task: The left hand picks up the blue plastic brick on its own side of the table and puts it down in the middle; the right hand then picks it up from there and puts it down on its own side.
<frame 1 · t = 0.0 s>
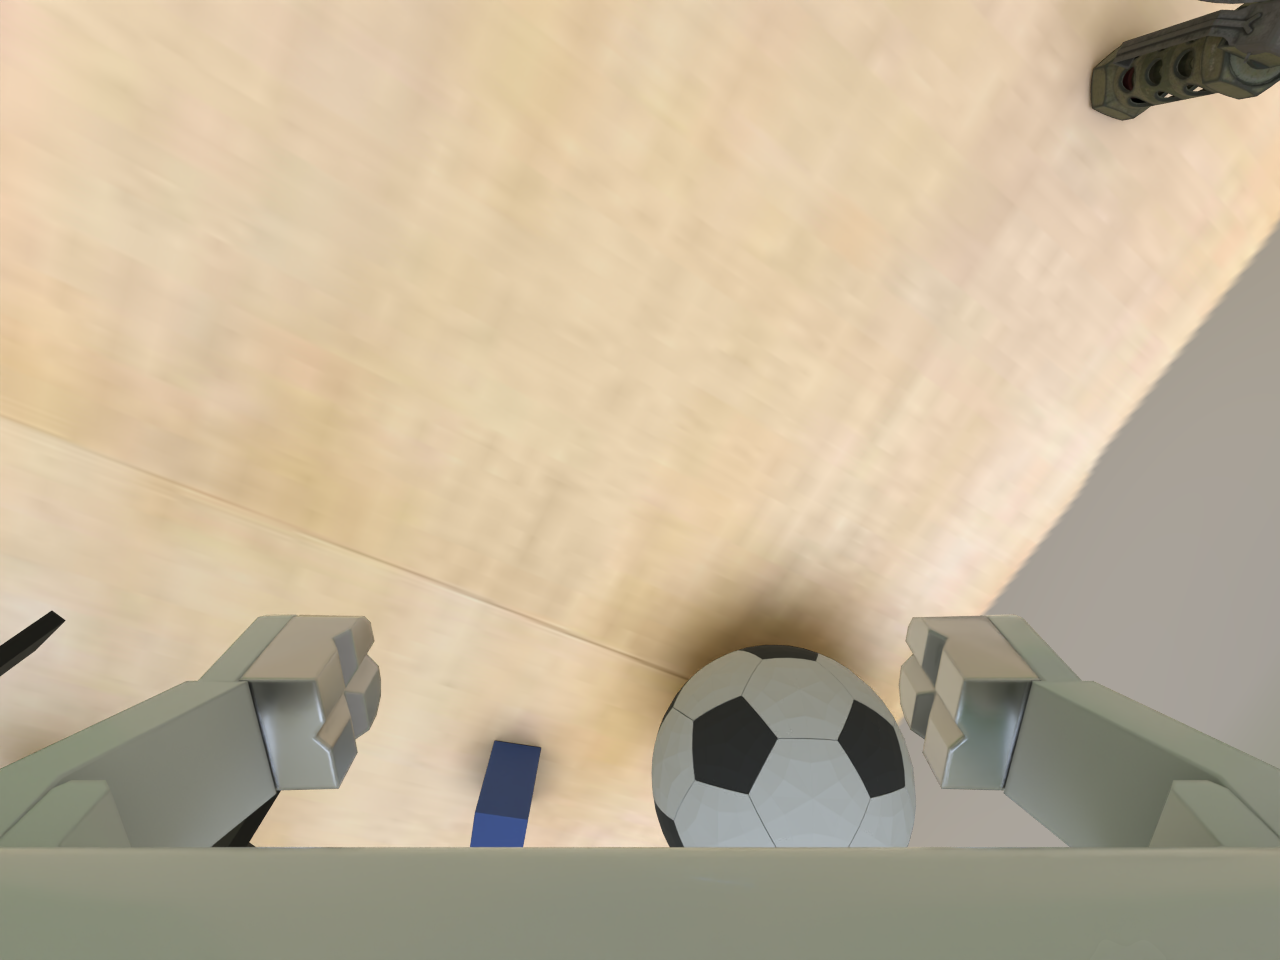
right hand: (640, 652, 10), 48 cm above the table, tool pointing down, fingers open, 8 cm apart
grenade: (1113, 66, 49), on the table
brick: (513, 771, 73), on the table
soccer ball: (758, 690, 70), on the table
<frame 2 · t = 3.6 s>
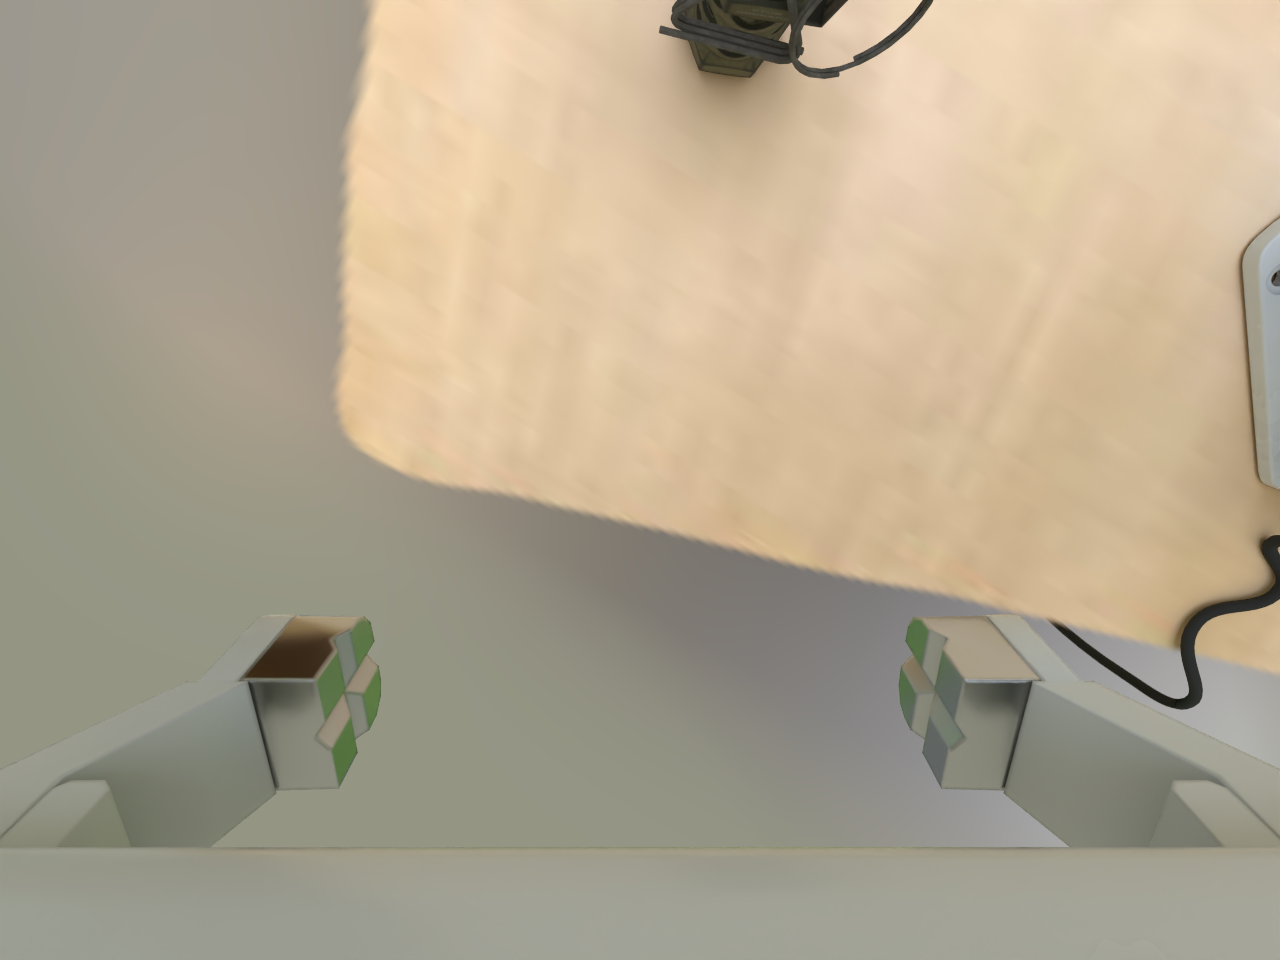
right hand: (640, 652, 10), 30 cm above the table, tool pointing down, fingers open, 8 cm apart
grenade: (749, 44, 33), on the table
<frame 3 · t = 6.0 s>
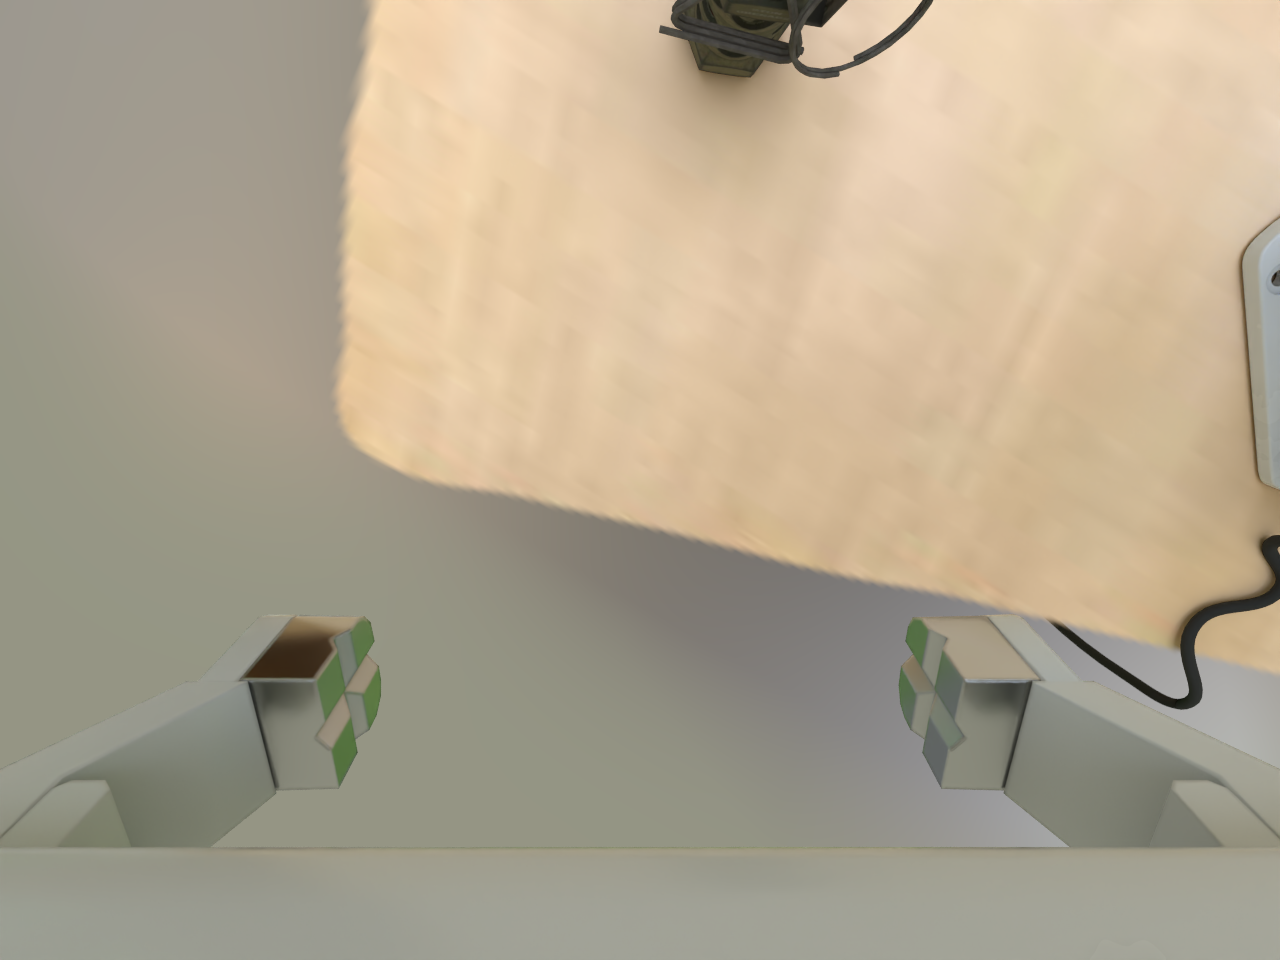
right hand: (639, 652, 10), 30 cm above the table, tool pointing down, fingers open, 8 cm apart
grenade: (749, 44, 33), on the table
when the left hand's fingers open (4 cm above the table, at t = 8.7 s): brick drops 2 cm, on the table.
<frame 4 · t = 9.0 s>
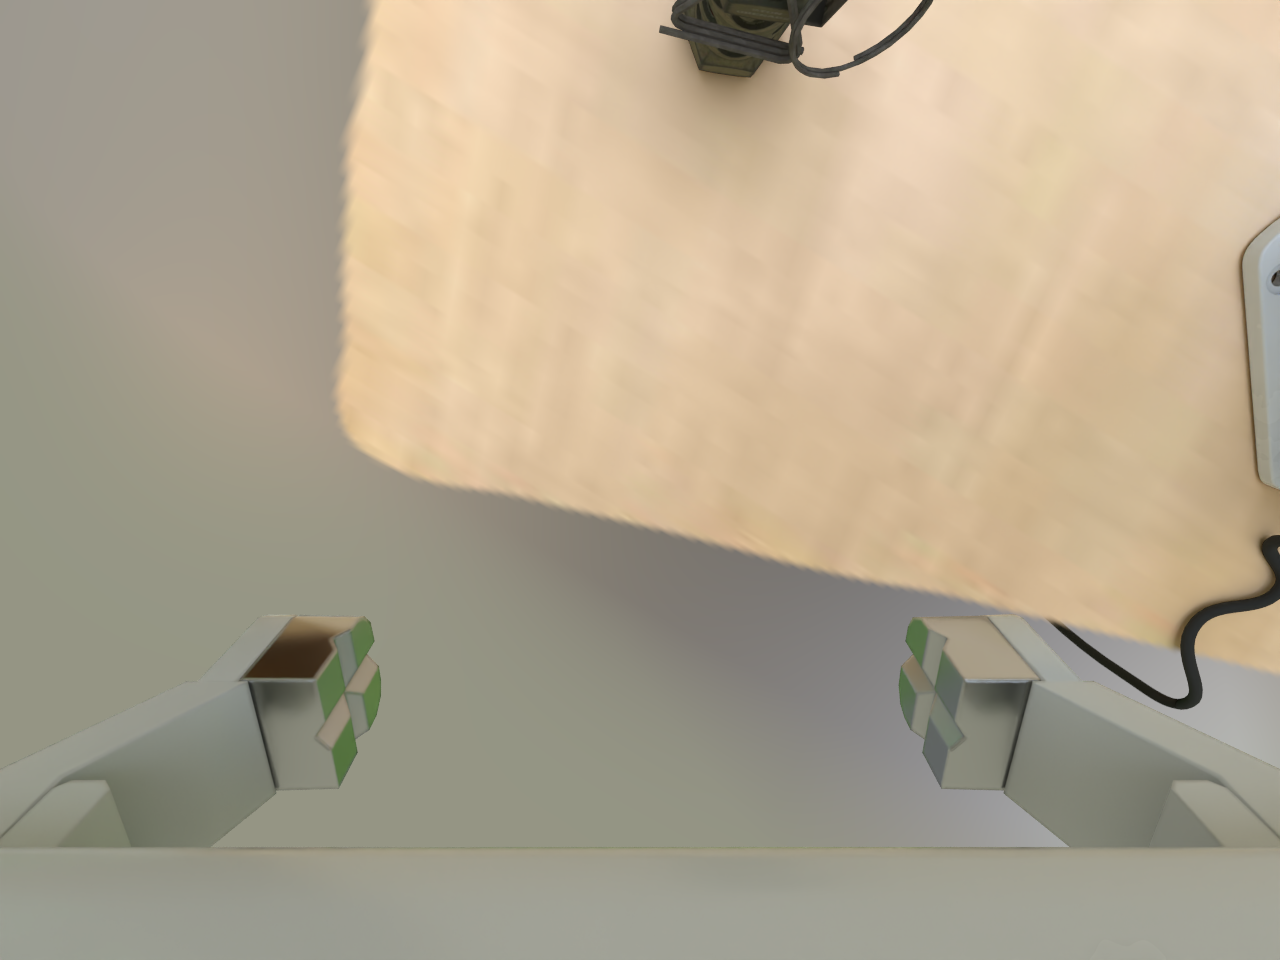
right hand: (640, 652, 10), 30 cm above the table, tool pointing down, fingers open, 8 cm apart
grenade: (750, 44, 33), on the table
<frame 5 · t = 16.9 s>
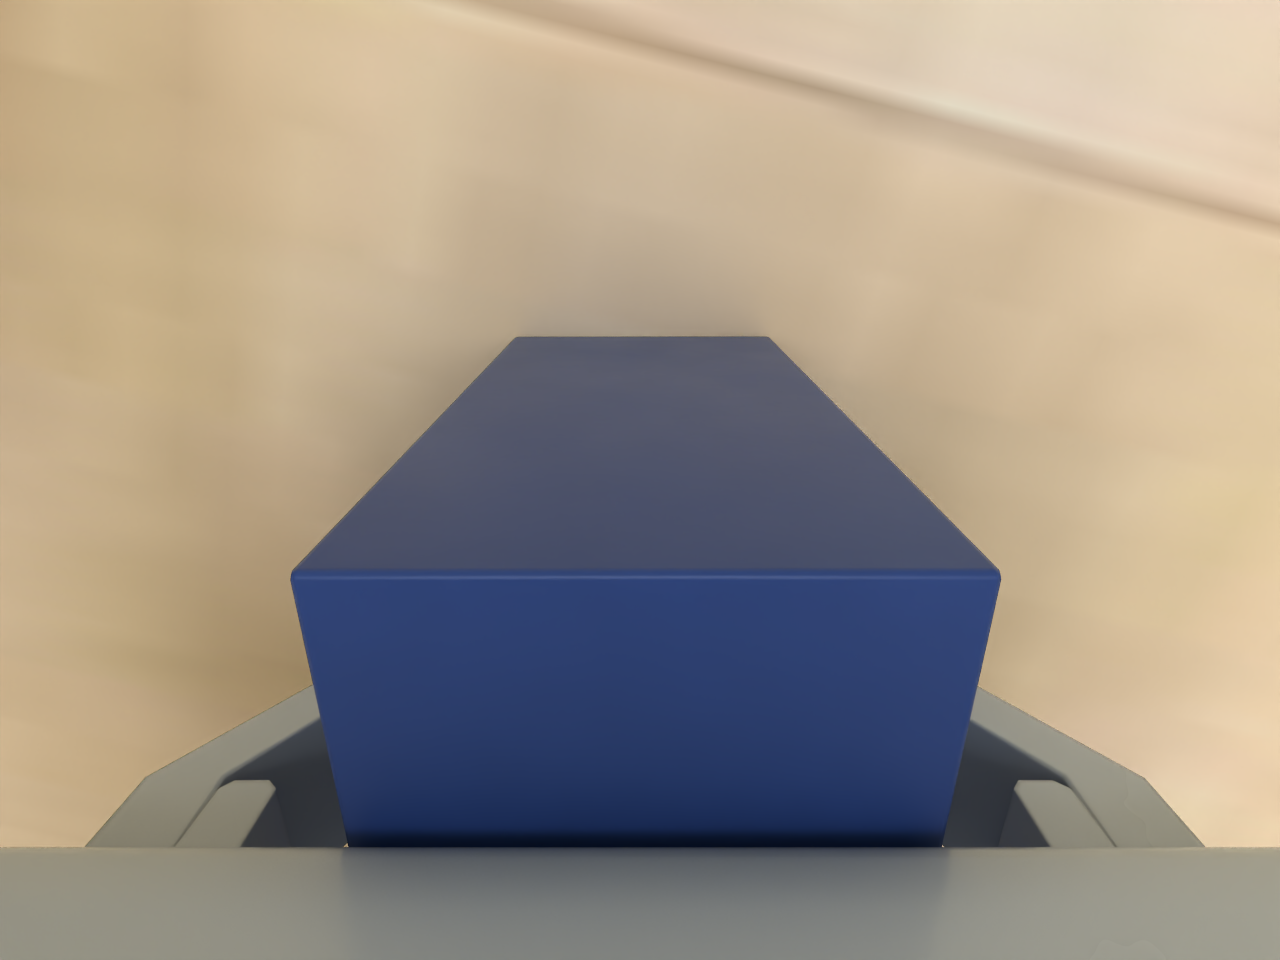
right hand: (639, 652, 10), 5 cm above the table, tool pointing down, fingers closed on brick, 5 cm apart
brick: (642, 519, 15), on the table, touching right hand
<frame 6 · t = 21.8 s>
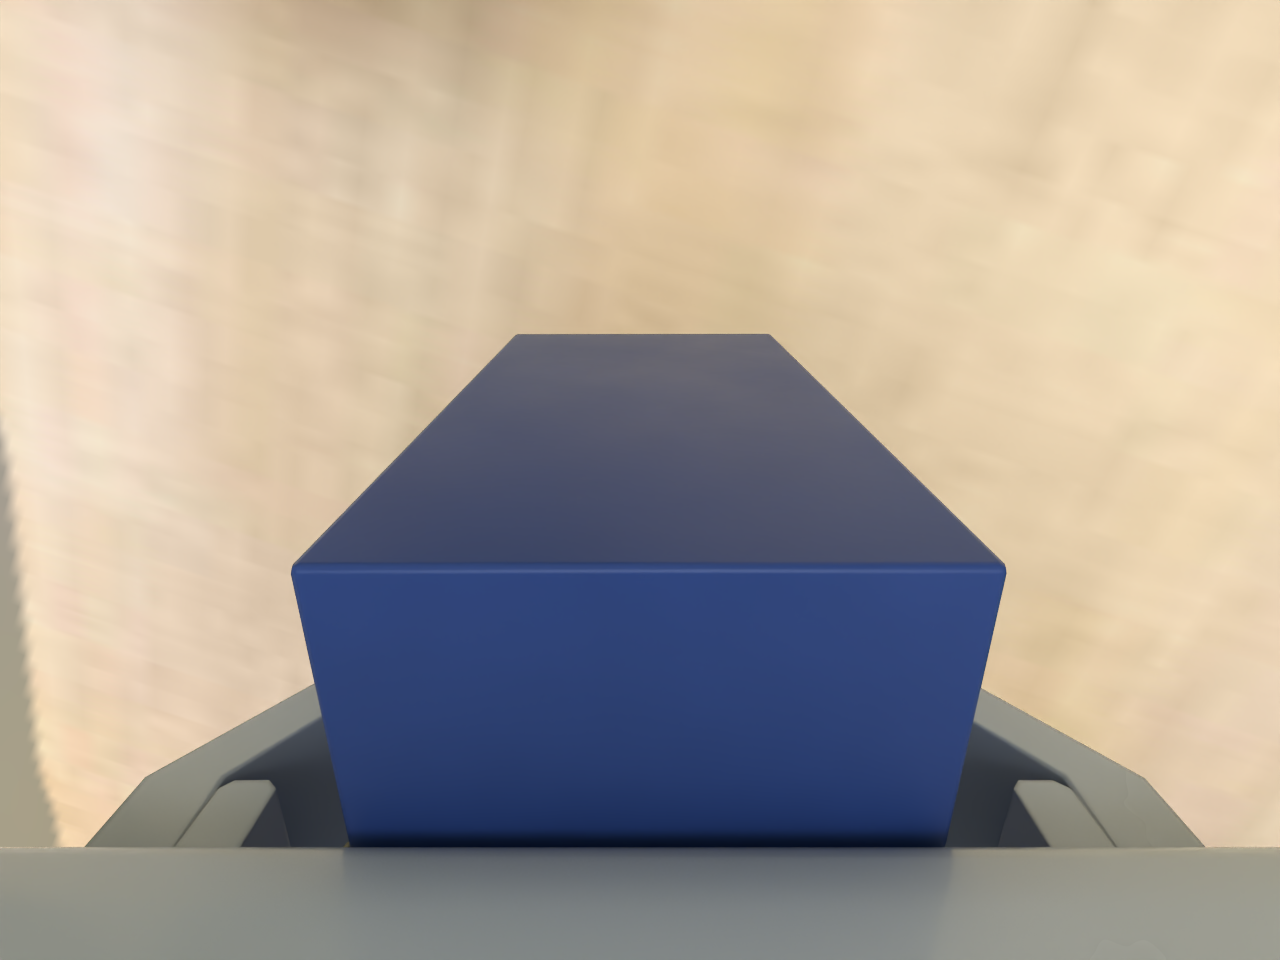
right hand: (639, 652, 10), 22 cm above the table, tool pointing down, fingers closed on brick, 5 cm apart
brick: (642, 517, 15), point 18 cm above the table, touching right hand
when the right hand's fingers open (6 cm above the table, at t = 27.0 s): brick drops 2 cm, on the table.
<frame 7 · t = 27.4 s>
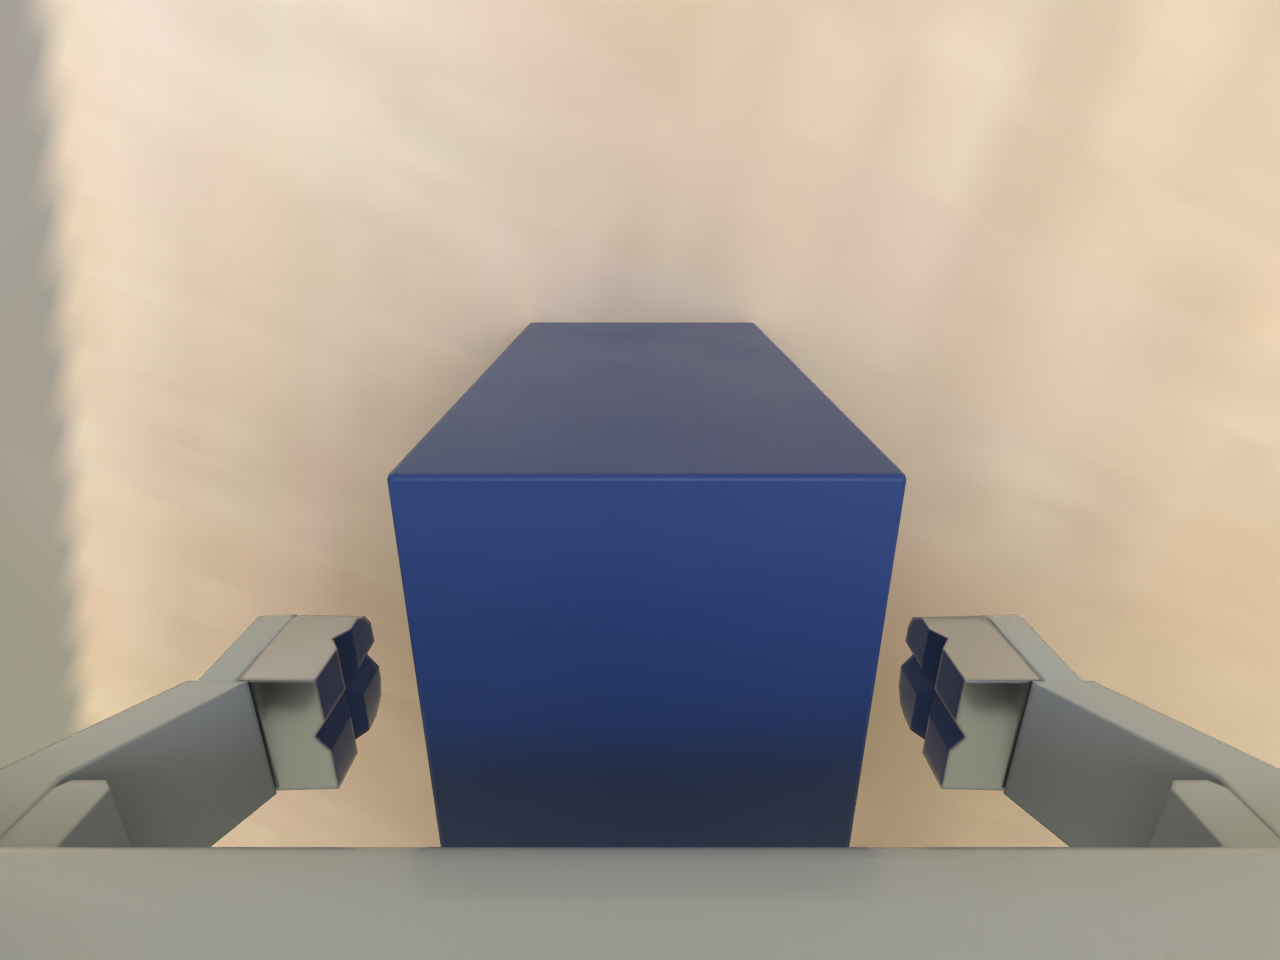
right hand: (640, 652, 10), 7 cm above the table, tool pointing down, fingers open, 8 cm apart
brick: (641, 487, 16), on the table
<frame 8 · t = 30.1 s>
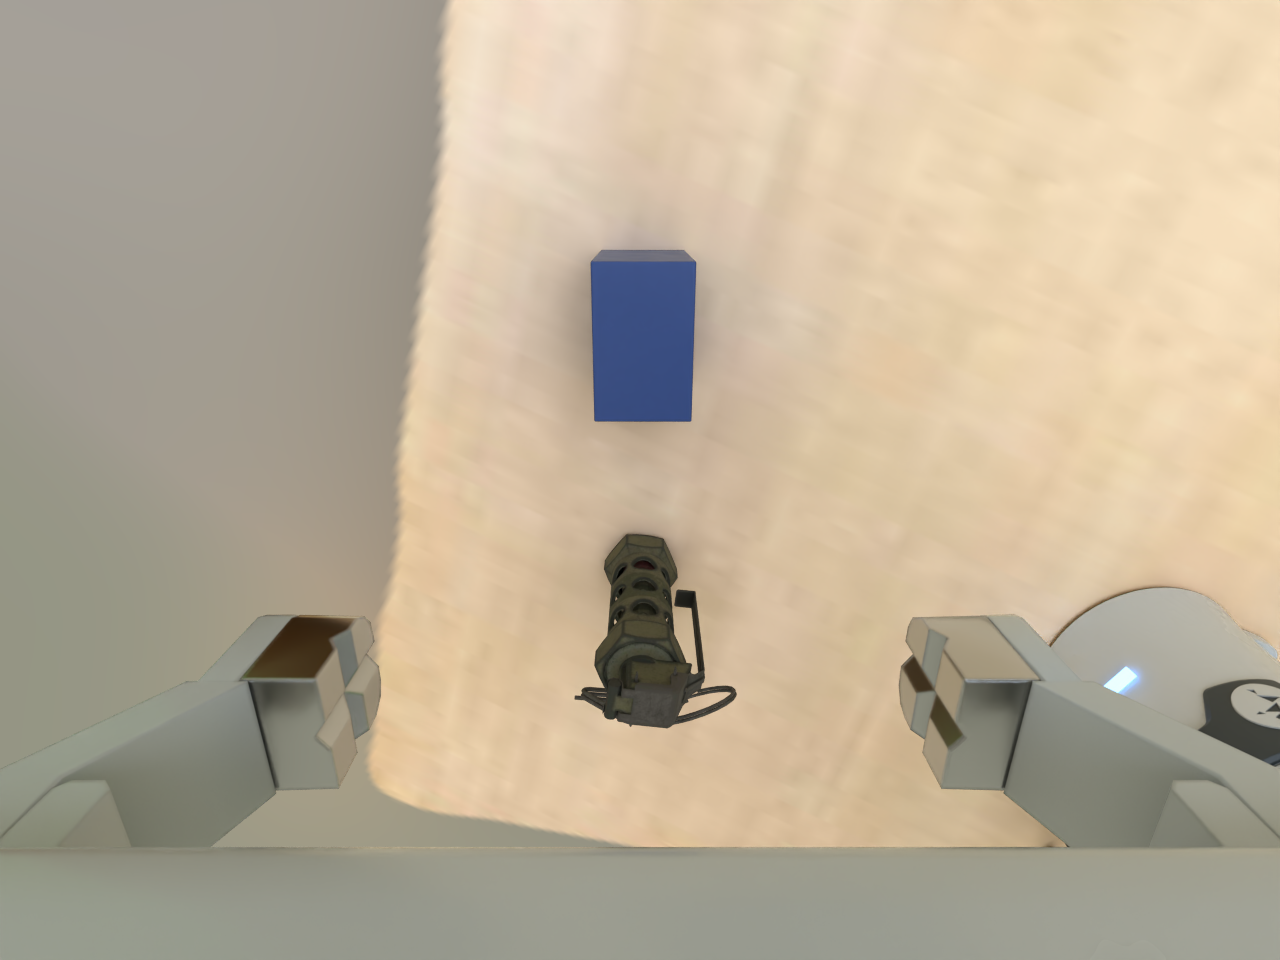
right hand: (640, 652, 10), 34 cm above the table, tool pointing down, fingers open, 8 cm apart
grenade: (654, 571, 49), on the table
brick: (642, 317, 42), on the table
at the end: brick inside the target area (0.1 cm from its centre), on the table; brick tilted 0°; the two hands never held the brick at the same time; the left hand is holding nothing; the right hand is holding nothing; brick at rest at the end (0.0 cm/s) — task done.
